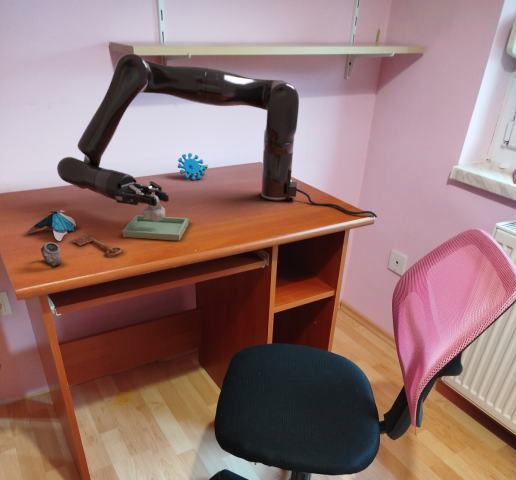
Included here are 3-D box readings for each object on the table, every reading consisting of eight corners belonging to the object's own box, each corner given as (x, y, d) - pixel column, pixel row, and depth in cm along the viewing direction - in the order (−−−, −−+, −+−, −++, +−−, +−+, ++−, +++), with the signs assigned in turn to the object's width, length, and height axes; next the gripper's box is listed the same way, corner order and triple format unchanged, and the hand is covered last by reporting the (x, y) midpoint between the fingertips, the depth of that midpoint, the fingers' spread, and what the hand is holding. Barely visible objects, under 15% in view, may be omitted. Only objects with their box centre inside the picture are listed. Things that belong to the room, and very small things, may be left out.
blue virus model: (180, 177, 165) (176, 150, 166) (176, 186, 170) (172, 160, 172) (210, 179, 169) (207, 153, 171) (206, 187, 175) (202, 162, 176)
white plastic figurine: (170, 220, 129) (167, 191, 124) (149, 228, 126) (145, 198, 121) (159, 213, 132) (156, 185, 127) (138, 220, 129) (134, 191, 124)
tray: (188, 223, 135) (188, 218, 134) (179, 240, 125) (179, 234, 124) (136, 220, 136) (135, 214, 135) (122, 236, 126) (122, 230, 125)
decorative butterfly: (84, 212, 128) (56, 215, 119) (84, 237, 130) (57, 241, 121) (53, 206, 131) (24, 208, 122) (54, 230, 133) (25, 234, 124)
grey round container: (53, 269, 110) (48, 248, 107) (39, 260, 113) (34, 240, 110) (67, 264, 112) (63, 244, 109) (53, 256, 115) (48, 236, 112)
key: (72, 242, 123) (104, 260, 114) (71, 238, 122) (103, 257, 114) (92, 234, 126) (124, 252, 118) (91, 231, 125) (124, 248, 117)
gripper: (92, 177, 125) (140, 192, 117) (133, 166, 134) (179, 179, 127) (97, 205, 129) (143, 221, 122) (136, 192, 139) (181, 207, 131)
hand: (161, 199), depth 124 cm, fingers closed on white plastic figurine, 3 cm apart
